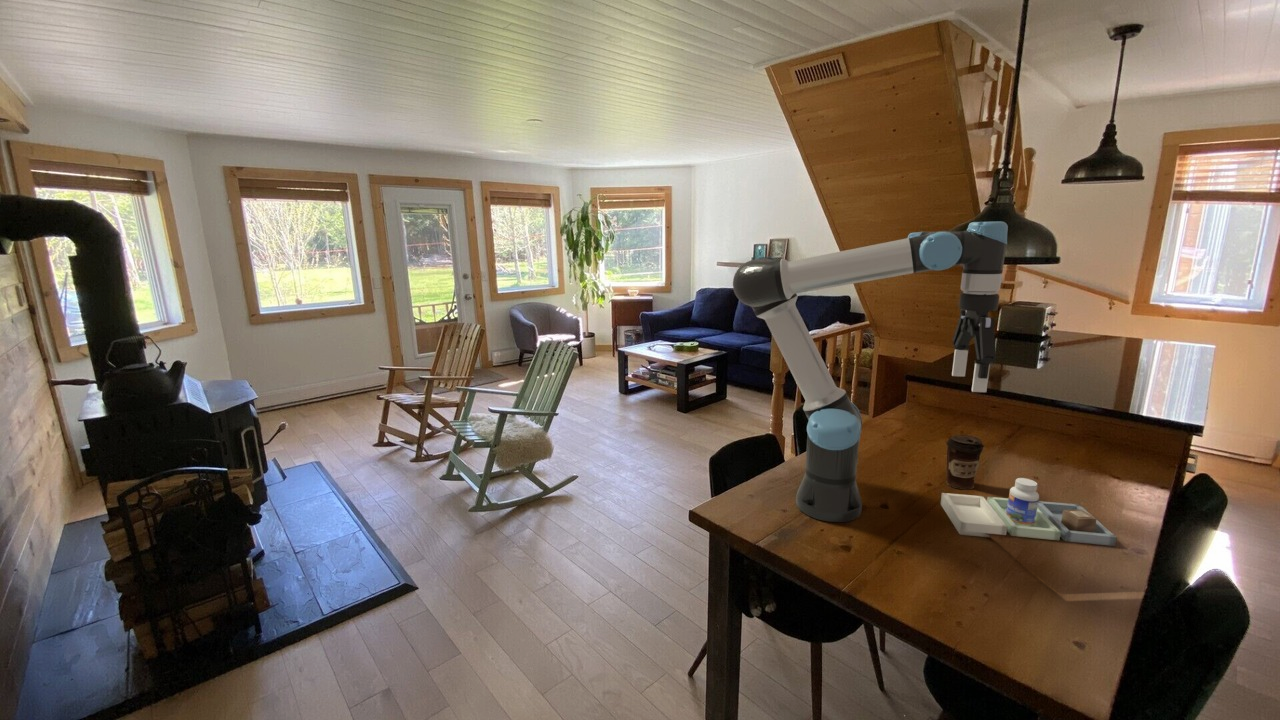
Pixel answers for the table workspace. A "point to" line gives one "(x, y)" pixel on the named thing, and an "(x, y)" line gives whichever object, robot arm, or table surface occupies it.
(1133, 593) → the table surface
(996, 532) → the bin
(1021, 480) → the pill bottle
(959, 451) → the coffee cup
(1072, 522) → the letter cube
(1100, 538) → the bin
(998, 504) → the bin mid
